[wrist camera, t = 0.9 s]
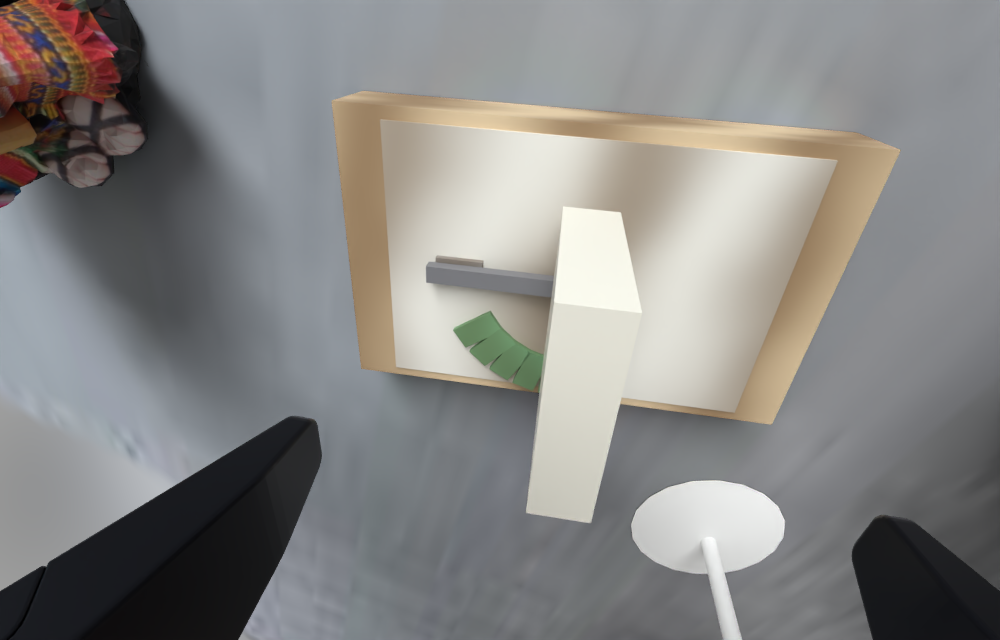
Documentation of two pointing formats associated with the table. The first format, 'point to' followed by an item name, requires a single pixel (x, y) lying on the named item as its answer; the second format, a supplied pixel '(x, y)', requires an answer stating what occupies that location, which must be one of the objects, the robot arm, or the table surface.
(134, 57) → the figurine
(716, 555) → the wineglass
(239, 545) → the robot arm
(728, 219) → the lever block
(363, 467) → the table surface
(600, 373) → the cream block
